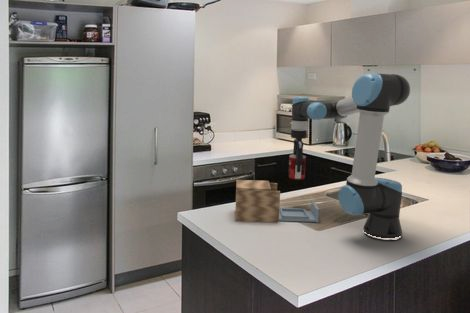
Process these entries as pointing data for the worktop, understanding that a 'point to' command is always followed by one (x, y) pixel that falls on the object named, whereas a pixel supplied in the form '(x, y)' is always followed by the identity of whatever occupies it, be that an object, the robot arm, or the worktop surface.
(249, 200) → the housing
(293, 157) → the canned food
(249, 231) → the worktop surface
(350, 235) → the worktop surface
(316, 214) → the tray
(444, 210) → the worktop surface
